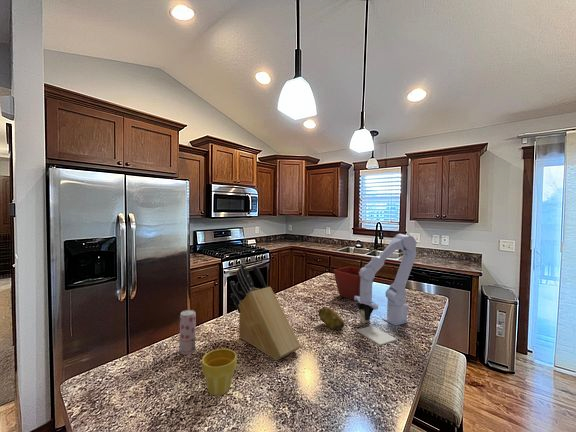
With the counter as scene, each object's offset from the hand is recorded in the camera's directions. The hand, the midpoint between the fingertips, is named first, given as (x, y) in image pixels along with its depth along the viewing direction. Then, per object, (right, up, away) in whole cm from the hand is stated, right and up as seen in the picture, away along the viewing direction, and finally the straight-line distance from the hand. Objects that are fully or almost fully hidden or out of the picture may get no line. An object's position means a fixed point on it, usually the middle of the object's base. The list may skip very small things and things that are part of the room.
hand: (365, 318), depth 130 cm
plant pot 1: (-60, -2, -50) cm, 78 cm away
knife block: (-50, -1, -21) cm, 54 cm away
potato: (-18, -1, -6) cm, 19 cm away
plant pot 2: (+4, -1, +37) cm, 37 cm away
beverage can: (-77, -1, -30) cm, 83 cm away
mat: (+1, -2, -14) cm, 14 cm away
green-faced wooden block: (0, -1, 0) cm, 1 cm away
